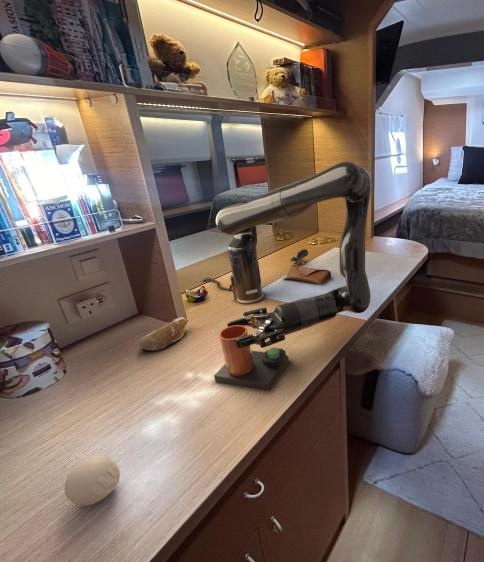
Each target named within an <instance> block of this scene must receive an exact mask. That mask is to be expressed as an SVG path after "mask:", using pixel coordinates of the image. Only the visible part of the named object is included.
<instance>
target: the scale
mask: <svg viewBox="0 0 484 562" xmlns="http://www.w3.org/2000/svg"><path fill="white" fill-rule="evenodd" d="M277 348H278V349H279V353H280V356H279V357H278V358H276V359H269V358H268V350H269V349H267V350H265V351H257V350H251V352H252V357H253V364H254V366H253V368H252V370H251V371H250V372H248V373H246V374H244V375H240V376H233V375H230V374H229V373H228V372H227V369H226V364H225V363H224V365H222V367H221V368H220V369H218V371H217V372H216V373H215V374H214V375H213V377H214V382H215V383H220V384H227V385H233V386H239V387H245V388H251V389H254V390H255V389H256V390H261V391H268V392H269V391H270V390H271V389H272V387H273V386H274V385H275V383H276V381H277V380H278V378H279V377H280V376H281V374H282V373H283V371H284V369H286V367H287V365H288V364H289V362H290V361H289V355H287V354H286V351H285V349H283V348H279V347H277Z"/></svg>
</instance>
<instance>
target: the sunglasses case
mask: <svg viewBox="0 0 484 562" xmlns="http://www.w3.org/2000/svg"><path fill="white" fill-rule="evenodd" d="M331 278H332V272H331V271H330V270H328V269H320V268H314V267H307V266H300V265H299V266H297V265H296V264H292V265H291V267H290V269H289V271H288V273H286V276H285V277H284V278H283V280H288V281H293V282H294V281H295V282H299V283H305V284H311V285H324V284H327V282H329V281H331Z"/></svg>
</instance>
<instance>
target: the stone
mask: <svg viewBox="0 0 484 562" xmlns="http://www.w3.org/2000/svg"><path fill="white" fill-rule="evenodd" d="M188 322H189V319H188V318H186V317H184V316H180V317H178V318H175V319H173V320H172V321H171V322H169V323H168V324H165V325H164V326H162V327H161V328H158V329H155V330H153V331H151V332H150V333H148V334H146V335H145V336H143V337H141V338H140V339H139V340H138V341H137V342H136V343H135V346H136V347H138V348H140V349H143V350H147V351H158V350H161V349H164V348H166V347H167V346H169V345H171V344H173V343H175V342H176V341H179V340H180V339H182V337H183V336H184V335H185V327H186V325H187V324H188Z"/></svg>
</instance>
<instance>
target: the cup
mask: <svg viewBox="0 0 484 562" xmlns="http://www.w3.org/2000/svg"><path fill="white" fill-rule="evenodd" d="M247 335H249V331H248V327H245V326H242V325H234V326H230V327H228V326H227V327H225V328H223V329H222V330H221V331H220V332H219V334H218V337H219V341H220V346H221V350H222V354H223V355H222V356H223V360H224V365H225V364H226V369H227V372H228V373H229V374H230V375H233V376H240V375H244V374H246V373H248V372H250V371H251V370H252V368H253V366H254V364H253V357H252V352H251V351H252V345H249V346H246V347H242V348H238V347H237V344H236V339H238V338H241V337H244V336H247Z"/></svg>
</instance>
